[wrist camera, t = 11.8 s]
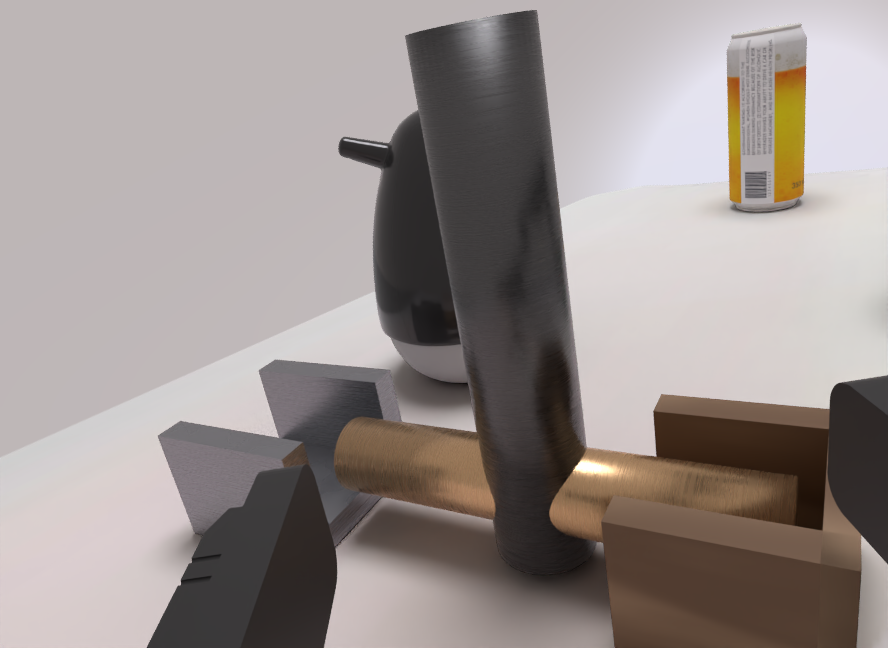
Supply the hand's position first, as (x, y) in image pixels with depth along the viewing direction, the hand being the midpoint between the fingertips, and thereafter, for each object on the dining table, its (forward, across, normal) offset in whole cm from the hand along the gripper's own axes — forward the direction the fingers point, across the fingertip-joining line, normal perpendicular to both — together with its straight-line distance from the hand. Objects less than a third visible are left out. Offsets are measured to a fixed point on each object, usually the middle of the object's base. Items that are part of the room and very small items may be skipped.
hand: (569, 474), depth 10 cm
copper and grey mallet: (+11, 0, +11) cm, 15 cm away
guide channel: (+17, +10, +11) cm, 23 cm away
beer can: (+52, -26, +11) cm, 60 cm away
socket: (+8, -6, +11) cm, 15 cm away
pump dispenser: (+28, +2, +11) cm, 30 cm away
